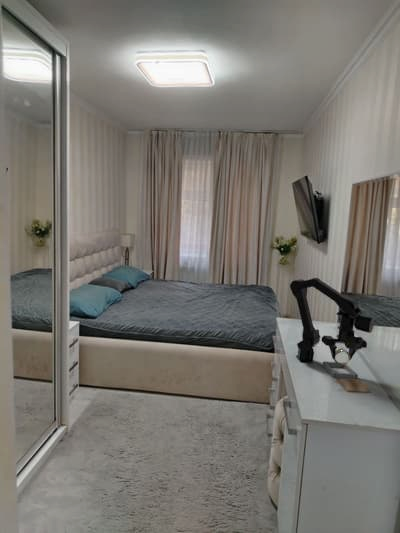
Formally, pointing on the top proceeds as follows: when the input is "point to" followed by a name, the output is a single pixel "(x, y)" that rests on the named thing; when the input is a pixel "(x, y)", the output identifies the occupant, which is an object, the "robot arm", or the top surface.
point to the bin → (340, 375)
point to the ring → (342, 351)
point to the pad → (353, 385)
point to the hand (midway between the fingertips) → (341, 359)
